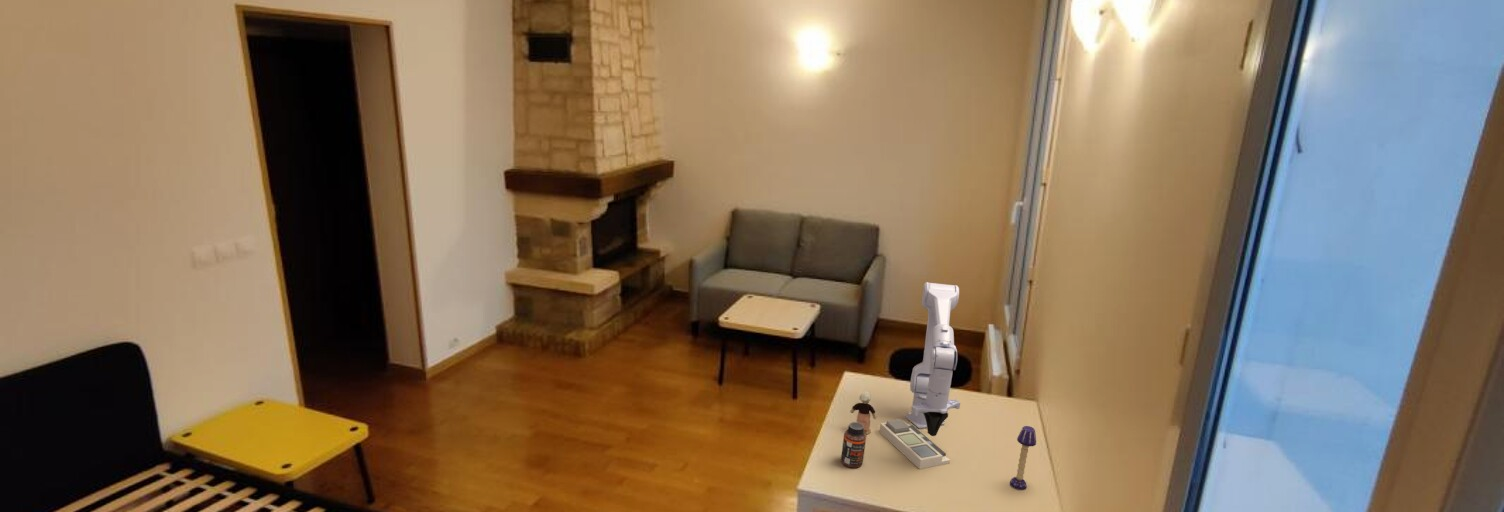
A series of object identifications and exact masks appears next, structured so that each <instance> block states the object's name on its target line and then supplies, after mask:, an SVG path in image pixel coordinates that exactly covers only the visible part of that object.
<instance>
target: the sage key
mask: <svg viewBox="0 0 1504 512" xmlns="http://www.w3.org/2000/svg"><path fill="white" fill-rule="evenodd" d="M898 437H899V438H900V439H901V440H902V441H903V442H904V443H906V444H907V445H908V446H909V445H914V444H920V443H922V442H921V441H920V440H919V439H918V438H917V437H916V436H915V435H913V434H909V435H903V436H898Z"/></svg>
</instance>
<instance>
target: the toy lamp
mask: <svg viewBox="0 0 1504 512" xmlns="http://www.w3.org/2000/svg"><path fill="white" fill-rule="evenodd" d="M1016 441H1017V442H1018V444H1020V445H1021V446H1022V447H1021V449H1020V453H1019V459H1018V464H1017V470H1016V471H1017V472H1016V473H1017V474H1016V476H1015V477H1012V478H1011V479H1010V481H1009V485H1010V486H1011V487H1012V488H1013V489H1017V490H1026V489H1027V481H1025V480H1026V479H1025V480H1024V474H1025V469H1026V463H1027V458H1028V453H1029V447H1034V446H1036V445H1037V435H1036V429H1035V427H1032V426H1029V425H1024V426H1022V428H1021V430H1020V432H1019V434H1018V436H1017V438H1016Z"/></svg>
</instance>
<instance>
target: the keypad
mask: <svg viewBox="0 0 1504 512" xmlns="http://www.w3.org/2000/svg"><path fill="white" fill-rule="evenodd" d="M886 422H887V421H886ZM886 422H882V423H880V424H879V433H880V434H881V435H882V436H883V437H884V438H885V439H886V440H888V441H889V442H890V443H891V444H892V446H894V447H895V448H896V449H897V450H898V451H900V453H901V454H903V455H904V456H905V457H906V458H907V459H908V460H909V461H910V462H911V463H912V464H913V465H914V466H916V468H918V469H919V470H922V469H927V468H932V467H936V466H937V467H938V466H943V465H947V464H950V463H951V459H950V458H948V456H946V455H947V453H946V452H945V451H943V449H941V448H940V447H939V446H937V444H936V443H934V442H933V441H932V440H931V439H930V438H928V437H927V436H926V435H925V434H924V433H922V432H921V431H920V430H919V428H918V427H917V428H916V426H915V425H914V424H911V425H910V424H908V423H906V424H907V425H908V426H909V427H910V429H909V431H907V432H901V433H896V434H895V433H894V432H893V431H892V430H891V429H890V428H888V427H887V426H886ZM909 434H913V435H915V436H916V437H917V438H918V439H919V440H920V441H921V442H922V443H920V444H914V445H909V446H908V445H907V444H906V443H904V442H903V441H902V440H901V439H900V438H899V437H898V436H903V435H909ZM920 446H927V447H928V448H930V449H931V450H932V451H933V452H934V453H935V454H936V455H935V456H929V457H924V458H921V457H920V456H919V455H918V454H917V453H916V452H914V451H913V450H912V448H915V447H920Z"/></svg>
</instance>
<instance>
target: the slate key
mask: <svg viewBox="0 0 1504 512" xmlns="http://www.w3.org/2000/svg"><path fill="white" fill-rule="evenodd" d="M912 450H913V451H914V452H916V453H917V454H918V455H919V456H920V457H921V458H924V457H929V456H935V455H936V454H935V453H934V452H933V451H932V450H931V449H930V448H928V447H927V446H920V447H915V448H912Z"/></svg>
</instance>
